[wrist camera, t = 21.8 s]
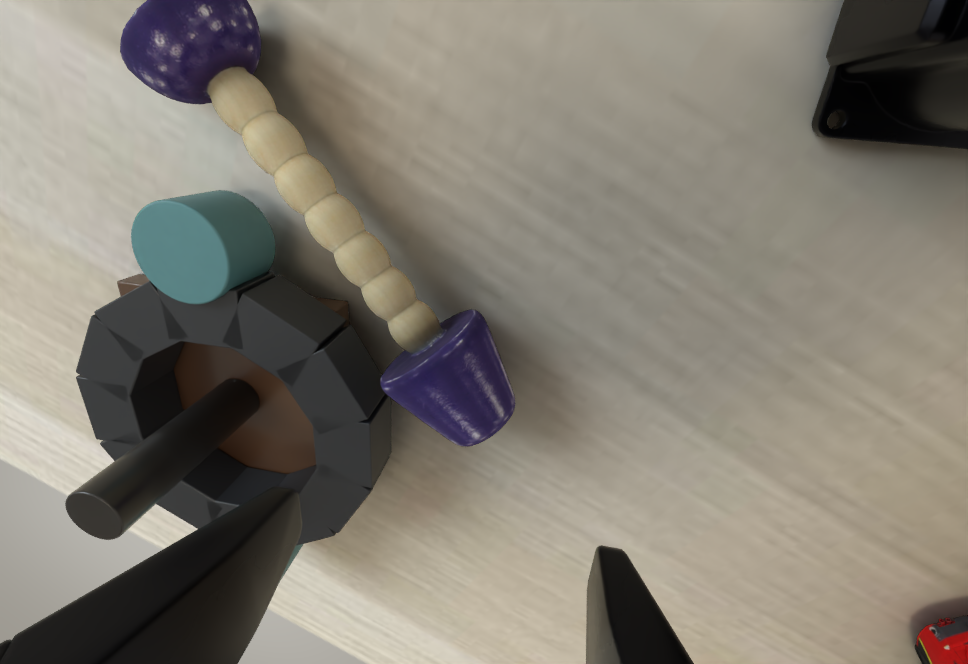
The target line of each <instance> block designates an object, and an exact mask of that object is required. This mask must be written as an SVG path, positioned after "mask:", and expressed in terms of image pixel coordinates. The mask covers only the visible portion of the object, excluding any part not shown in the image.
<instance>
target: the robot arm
mask: <svg viewBox="0 0 968 664" xmlns="http://www.w3.org/2000/svg"><path fill="white" fill-rule="evenodd" d="M826 58H827V60H828V62H829V65H831V66H830V69H829V72H828V75H827V78H826V81H825V84H824V87H823V90H822V93H821V96H820V99H819V102H818V105H817V108H816V111H815V114H814V117H813V121H812V128H813V131H814V132H815V133H816V134H817V135H818V136H820V137H824V138H835V139H848V140H860V141H873V142H886V143H898V144H911V145H923V146H936V147H948V148H961V149H968V0H844V3H843V6H842V9H841V12H840V15H839V18H838V21H837V24H836V27H835V30H834V33H833V36H832V39H831V42H830V46H829V49H828V52H827V55H826ZM834 112H837V113H838V115H839V121H838V123H837V125H836V126H834V127H833V128H829V126H828V124H827V121H828V118H829V116H830V115H831V114H832V113H834ZM301 531H302V517H301V509H300V500H299V494H298V492H297V491H296V490H294V489H290V488H285V487H279V486H274V487H271V488H269V489H267V490H265V491H264V492H262V493H260V494H258V495H257V496H255V497H253V498H251V499H250V500H248V501H246V502H245V503H243V504H241V505H239V506H238V507H236V508H234V509H232V510H231V511H229V512H227V513H226V514H224V515H222V516H220V517H219V518H217V519H215V520H213V521H212V522H210V523H208V524H207V525H205V526H203V527H201V528H200V529H198V530H196V531H194V532H193V533H191V534H189V535H188V536H186V537H184V538H182V539H181V540H179V541H177V542H175V543H174V544H172V545H170V546H169V547H167V548H165V549H163V550H162V551H160V552H158V553H157V554H155V555H153V556H151V557H150V558H148V559H146V560H144V561H143V562H141V563H139V564H137V565H136V566H134V567H132V568H131V569H129V570H127V571H125V572H124V573H122V574H120V575H119V576H117V577H115V578H113V579H111V580H110V581H108V582H106V583H105V584H103V585H101V586H99V587H98V588H96V589H94V590H92V591H91V592H89V593H87V594H86V595H84V596H82V597H80V598H79V599H77V600H75V601H74V602H72V603H70V604H68V605H67V606H65V607H63V608H61V609H60V610H58V611H56V612H54V613H53V614H51V615H49V616H48V617H46V618H44V619H42V620H41V621H39V622H37V623H35V624H34V625H32V626H31V627H29V628H27V629H25V630H23V631H22V632H20V633H18V634H17V635H15V636H14V638H13V640H6V641H4V642H2V643H1V644H0V664H237V663H238V662H239V660H240V658H241V656H242V655H243V653H244V651H245V650H246V648H247V646H248V644H249V643H250V641H251V639H252V637H253V635H254V633H255V632H256V630H257V628H258V626H259V624H260V622H261V619H262V618H263V616H264V614H265V612H266V610H267V607H268V605H269V603H270V601H271V599H272V596H273V594H274V592H275V590H276V588H277V586H278V583H279V581H280V579H281V577H282V575H283V573H284V570H285V568H286V566H287V564H288V562H289V560H290V557H291V555H292V553H293V551H294V549H295V546H296V544H297V542H298V540H299V538H300V534H301ZM586 664H694V663H693V661H692V660H691V658H690V657H689V655H688V653H687V652H686V650H685V648H684V647H683V645H682V644H681V642H680V640H679V639H678V637H677V635H676V634H675V632H674V631H673V629H672V627H671V626H670V624H669V622H668V621H667V619H666V618H665V616H664V614H663V613H662V611H661V609H660V608H659V606H658V605H657V603H656V601H655V600H654V598H653V596H652V595H651V593H650V592H649V590H648V588H647V587H646V585H645V583H644V582H643V580H642V579H641V577H640V575H639V574H638V572H637V570H636V569H635V567H634V566H633V564H632V562H631V561H630V559H629V557H628V556H627V554H626V553H625V552H624V551H623V550H622V549H618V548H613V547H607V546H598V547H597V549H596V551H595V555H594V559H593V563H592V567H591V571H590V575H589V580H588V587H587V629H586Z"/></svg>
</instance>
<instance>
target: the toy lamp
mask: <svg viewBox="0 0 968 664" xmlns="http://www.w3.org/2000/svg"><path fill="white" fill-rule="evenodd" d="M120 52H121V56H122V59H123V61H124V62H125V64H126V66H127V68H128V69H129V70H130V71H131V72H132V73H133V74H134V75H135V76H136V77H137V78H138V79H140V80H141V81H142V82H143V83H144V84H146V85H147V86H149V87H150V88H151V89H153V90H155V91H156V92H158V93H160V94H162V95H164V96H166V97H168V98H170V99H173V100H176V101H180V102H184V103H190V104H205V103H212V104H213V106H214V108H215V110H216V111H217V113H218V115H219V116H220V118H221V119H222V120H223V121H224V122H225V123H226V124H227V125H228V126H229V127H230V128H231V129H233V130H234V131H235V132H237V133H239V134H240V135H242V137H243V141H244V144H245V146H246V149H247V151H248V153H249V154H250V156H251V157H252V159H253V160H254V161H255V162H256V163H257V165H258V166H260V167H261V168H262V169H263V170H264V171H266V172H267V173H268V174H270V175H272V176H274V179H275V184H276V187H277V189H278V191H279V193H280V195H281V196H282V198H283V199H284V200H285V201H286V203H287V204H288V205H289V206H290V207H291V208H293V209H294V210H295V211H297V212H299V213H300V214H302V215H304V217H305V221H306V225H307V227H308V229H309V231H310V233H311V235H312V236H313V237H314V239H315V240H316V241H317V242H318V243H319V244H320V245H321V246H323V247H324V248H325V249H327V250H329V251H331V252H332V253H333V254H334V258H335V261H336V263H337V266H338V268H339V269H340V271H341V272H342V274H343V275H344V276H345V277H346V278H347V279H348V280H349V281H350V282H351V283H353V284H354V285H356V286H358V287H360V288H361V291H362V295H363V298H364V300H365V302H366V304H367V306H368V307H369V308H370V309H371V310H372V311H373V312H374V313H375V314H376V315H377V316H378V317H380V318H381V319H384V320H386V321H387V323H388V328H389V331H390V333H391V335H392V337H393V339H394V340H395V341H396V342H397V343H398V345H399V346H400V347H401V348H403V349H404V350H405V351H403V352H402V353H401V354H400V355H399V356H398V357H397V358H396V359H395V360H394V361H393V362H392V363H391V364H390V365H389V366H388V367H387V369H386V370H385V372H384V374H383V375H382V377H381V379H380V385H381V387H382V389H383V391H384V392H385V393H386V394H387V395H388V396H389V397H391V398H392V399H393V400H394V401H396V402H397V403H398V404H400V405H401V406H402V407H404V408H405V409H407V410H408V411H410V412H411V413H412V414H414V415H415V416H416V417H418V418H419V419H420V420H422V421H423V422H424V423H426V424H427V425H429V426H430V427H432V428H433V429H435V430H436V431H437V432H439V433H440V434H441V435H443V436H444V437H446V438H447V439H448V440H450V441H452V442H453V443H455V444H457V445H460V446H473V445H476V444H479V443H481V442H483V441H485V440H486V439H488V438H490V437H491V436H493V435H494V434H495V433H497V432H498V431H499V430H500V429H501V428H502V427H503V426H504V425H505V424H506V423H507V421H508V420H509V419H510V417H511V416H512V414H513V411H514V408H515V397H514V393H513V390H512V387H511V384H510V382H509V379H508V376H507V374H506V371H505V368H504V366H503V363H502V361H501V358H500V355H499V353H498V350H497V348H496V345H495V343H494V340H493V338H492V335H491V333H490V330H489V328H488V325H487V323H486V321H485V319H484V317H483V316H482V315H481V314H480V313H479V312H478V311H477V310H467V311H464V312H460V313H459V314H457V315H454V316H452V317H451V318H449V319H447V320H445V321H444V322H442V323H439V320H438V318H437V317H436V315H435V313H434V312H433V311H432V309H431V308H430V307H428V306H427V305H426V304H425V303H423V302H421V301H419V300H417V298H416V293H415V290H414V287H413V285H412V284H411V282H410V280H409V279H408V278H407V277H406V276H405V275H404V274H403V273H402V272H401V271H400V270H398V269H397V268H395V267H393V266H392V265H391V262H390V258H389V255H388V253H387V251H386V249H385V248H384V246H383V245H382V243H381V242H380V241H379V240H378V239H377V238H376V237H375V236H373V235H372V234H370V233H368V232H367V231H365V228H364V223H363V221H362V218H361V216H360V214H359V212H358V211H357V210H356V208H355V207H354V206H353V204H352V203H351V202H350V201H349V200H348V199H346V198H345V197H343V196H342V195H340V194H338V193H337V191H336V187H335V184H334V181H333V179H332V177H331V175H330V173H329V172H328V171H327V169H326V168H325V167H324V166H323V164H322V163H321V162H320V161H318V160H317V159H316V158H314V157H312V156H311V155H309V154H308V152H307V148H306V145H305V143H304V140H303V138H302V137H301V135H300V133H299V132H298V131H297V129H296V128H295V127H294V126H293V124H292V123H291V122H289V121H288V120H287V119H286V118H285V117H283V116H282V115H280V114H278V113H277V109H276V106H275V103H274V100H273V98H272V97H271V95H270V93H269V91H268V90H267V89H266V87H265V86H264V85H263V84H262V83H261V82H260V81H259V80H258V79H257V78H256V77H255V76H253V73H254V72H255V70H256V68H257V65H258V62H259V59H260V55H261V37H260V32H259V27H258V23H257V19H256V17H255V15H254V13H253V11H252V8H251V7H250V5H249V3H248V1H247V0H147V1H146V2H144V3H143V4H142V5H141V6H140V7H139V8H137V9H136V11H135V13H134V14H133V16H132V17H131V18H130V20H129V21H128V22H127V24H126V26H125V28H124V29H123V33H122V37H121V46H120Z"/></svg>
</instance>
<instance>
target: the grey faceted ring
mask: <svg viewBox="0 0 968 664" xmlns="http://www.w3.org/2000/svg"><path fill="white" fill-rule="evenodd" d="M131 239H132V247H133V251H134V254H135V257H136V260H137V262H138V264H139V266H140V268H141V269H142V271H143V272H144V274H145V275H146V277H147V278H148V279H149V280H150V281H148V282H146V283H145V284H143V285H141V286H139V287H137V288H136V289H134V290H132V291H130V292H128V293H127V294H125V295H123V296H121V297H119V298H118V299H116V300H114V301H112V302H111V303H109V304H107V305H105V306H103V307H102V308H100V309H98V310H96V311H95V315H93V316H92V317H91V319H90V323H89V326H88V330H87V334H86V337H85V341H84V344H83V348H82V351H81V355H80V359H79V362H78V366H77V369H76V372H77V373H78V374H80V375H79V376H77V377H76V379H77V382H78V385H79V388H80V391H81V394H82V397H83V400H84V403H85V406H86V409H87V412H88V415H89V419H90V422H91V425H92V428H93V431H94V434H95V437H96V439H99V440H103V441H102V442H101V443H100V444H101V446H102V447H103V448H104V449H105V450H106V452H107V453H108V454H109V455H110V456H111V457H112V458H113V460H114V461H116V460H117V459H119V458H120V457H121V456H123V455H124V454H126V453H127V452H128V451H130V450H131V449H132V448H134V447H135V446H136V445H138V444H139V443H141V442H142V441H143V440H145V439H146V438H147V437H149V436H150V435H151V434H153V433H154V432H155V431H157V430H158V429H160V428H161V427H162V426H164V425H165V424H166V423H168V422H169V421H170V420H172V419H173V418H175V417H176V416H177V415H179V414H180V413H181V412H183V411H184V410H183V408H182V403H181V399H180V395H179V390H178V386H177V382H176V377H175V373H174V366H175V364H176V361H177V359H178V356H179V354H180V351H181V349H182V347H183V344H184V342H190V343H197V344H204V345H210V346H217V347H224V348H231V349H234V350H235V351H237V352H238V353H240V354H241V355H243V356H245V357H246V358H248V359H249V360H251V361H252V362H254V363H255V364H257V365H258V366H260V367H262V368H263V369H265V370H266V371H268V372H269V373H271V374H272V375H274V376H275V377H277V378H279V379H280V380H282V381H283V383H284V384H285V386H286V387H287V389H288V390H289V392H290V393H291V395H292V396H293V398H294V399H295V400H296V402H297V403H298V405H299V406H300V408H301V409H302V411H303V412H304V414H305V415H306V417H307V418H308V420H309V421H310V423H311V424H312V425H313V436H314V447H315V457H316V465H314V466H311V467H308V468H305V469H302V470H299V471H296V472H293V473H290V474H284V473H278V472H272V471H267V470H261V469H256V468H250V467H247V466H245V465H243V464H242V463H240V462H238V461H237V460H235V459H234V458H232V457H230V456H229V455H227V454H225V453H224V452H222V451H221V450H219V449H217V448H216V449H215V450H214V451H213V452H212V453H211V454H210V455H209V456H208V457H206V458H205V459H204V460H203V461H202V462H201V463H200V464H199V465H198V466H197V467H195V468H194V469H193V470H192V471H191V472H190V473H189V474H188V475H187V476H186V477H185V478H183V479H182V480H181V481H180V482H179V483H178V484H177V485H176V486H175V487H174V488H172V489H171V490H170V491H169V492H168V493H167V494H166V495H165V496H164V497H163V498H161V499H160V500H159V501H158V502H157V503H156V504H157V505H159V506H161V507H162V508H164V509H166V510H167V511H169V512H171V513H172V514H174V515H176V516H177V517H179V518H181V519H183V520H184V521H186V522H188V523H189V524H191V525H193V526H194V527H196V528H198V529H200V528H201V527H203V526H205V525H207V524H208V523H210V522H212V521H213V520H215V519H217V518H219V517H220V516H222V515H224V514H226V513H227V512H229V511H231V510H232V509H234V508H236V507H238V506H239V505H241V504H243V503H245V502H246V501H248V500H250V499H251V498H253V497H255V496H257V495H258V494H260V493H262V492H264V491H265V490H267V489H269V488H271V487H274V486H279V487H285V488H290V489H294V490H296V491H297V492H298V494H299V500H300V509H301V517H302V531H301V534H300V538H299V540H298V542H297V544H296V546H295V549H294V551H293V553H292V555H291V557H290V560H289V562H288V564H287V566H286V568H285V570H284V573H283V575H282V577H283V576H284V574H285V573H286V571H287V569H288V568H289V566H290V565H291V563H292V561H293V560H294V558H295V557H296V555H297V554H298V552H299V550H300V549H301V547H302V546H303V544H304V543H308V542H312V541H316V540H320V539H323V538H327V537H331V536H334V535H335V534H336V532H337V533H339V532H340V530H341V529H342V528H343V527H344V525H345V524H346V523H347V522H348V520H349V519H350V518H351V516H352V515H353V514H354V513H355V511H356V510H357V509H358V508H359V506H360V505H361V504H362V502H363V501H364V500H365V499H366V497H367V496H368V495H369V494H370V492H371V491H372V489H373V487H374V485H375V483H376V481H377V479H378V477H379V476H380V474H381V472H382V470H383V468H384V466H385V464H386V463H387V461H388V459H389V455H390V453H391V397H389V396H388V395H387V394H386V393H385V392H384V391H383V389H382V387H381V385H380V379H381V377H382V375H381V373H380V372H379V370H378V368H377V367H376V365H375V363H374V362H373V360H372V358H371V357H370V355H369V353H368V352H367V350H366V348H365V347H364V345H363V343H362V342H361V340H360V338H359V337H358V335H357V333H356V332H355V330H354V328H353V327H352V325H348V326H346V327H343V326H344V324H345V323H346V319H345V318H343V317H342V316H340V315H339V314H337V313H336V312H334V311H333V310H331V309H330V308H328V307H327V306H326V305H324V304H323V303H321V302H320V301H318V300H317V299H315V298H314V297H312V296H311V295H309V294H308V293H306V292H305V291H303V290H302V289H300V288H299V287H297V286H296V285H294V284H293V283H291V282H290V281H288V280H287V279H285V278H284V277H283V276H281V275H278V276H276V277H274V273H273V272H267V271H268V270H269V269H270V267H271V265H272V263H273V260H274V256H275V240H274V235H273V232H272V229H271V227H270V224H269V223H268V221H267V219H266V217H265V216H264V215H263V213H262V212H261V211H260V210H259V209H258V208H257V207H256V206H255V205H254V204H253V203H252V202H251V201H249V200H248V199H246V198H245V197H243V196H241V195H239V194H236V193H233V192H230V191H221V190H219V191H211V192H205V193H200V194H194V195H188V196H182V197H176V198H170V199H164V200H158V201H155V202H152V203H150V204H148V205H146V206H145V207H144V208H143V209H142V210H141V211H140V212H139V213H138V214H137V216H136V218H135V220H134V222H133V226H132V233H131ZM282 577H281V579H282ZM281 579H280V580H281ZM279 582H280V581H279ZM278 584H279V583H278Z"/></svg>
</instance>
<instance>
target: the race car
mask: <svg viewBox="0 0 968 664" xmlns="http://www.w3.org/2000/svg"><path fill="white" fill-rule="evenodd" d="M945 620H946V621H944V620H943V619H939V623H937V625H936V624H931V625H928V626H926V627H925V628H924V629H923V630H922V631H921V632H920V633H919V635H918V637H917V645H915V650H916V652H917V654H918V656H919V658H920V660H921V662H922V664H968V615H966V616H961V617H957V618H954V621H951V619H950V618H946V619H945Z"/></svg>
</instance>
